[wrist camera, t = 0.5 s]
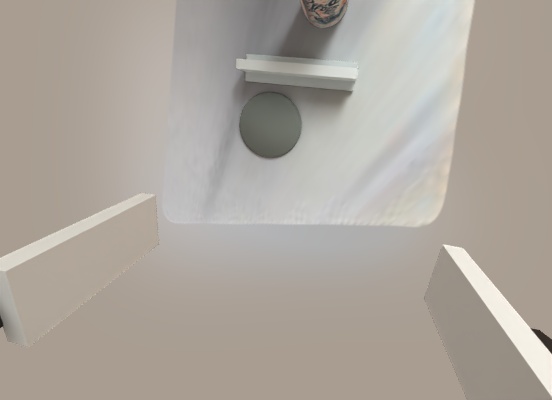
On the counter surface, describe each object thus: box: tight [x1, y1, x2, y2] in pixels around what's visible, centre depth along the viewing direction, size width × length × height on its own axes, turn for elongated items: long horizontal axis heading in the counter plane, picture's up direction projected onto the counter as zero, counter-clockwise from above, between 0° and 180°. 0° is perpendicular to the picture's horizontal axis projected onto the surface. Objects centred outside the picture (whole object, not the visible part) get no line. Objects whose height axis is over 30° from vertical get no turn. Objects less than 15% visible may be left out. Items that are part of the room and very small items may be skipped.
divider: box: [236, 54, 359, 91], centre depth 31 cm, size 3×13×4 cm, turn 84°
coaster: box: [240, 92, 301, 157], centre depth 35 cm, size 8×8×1 cm
